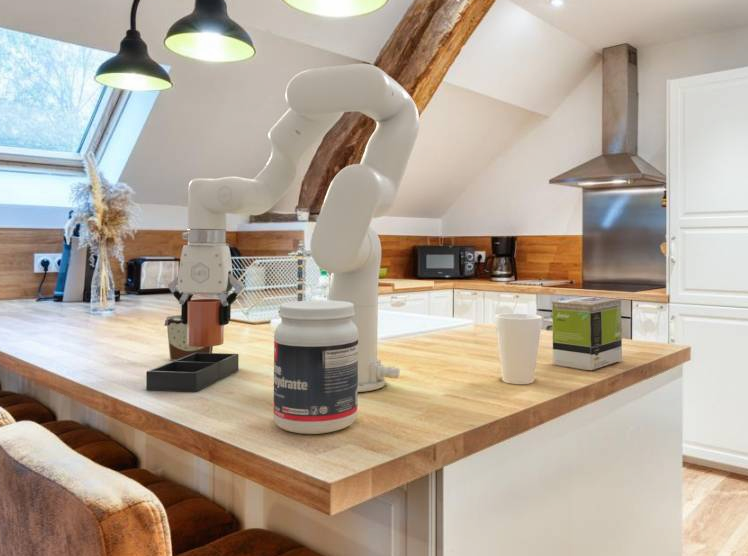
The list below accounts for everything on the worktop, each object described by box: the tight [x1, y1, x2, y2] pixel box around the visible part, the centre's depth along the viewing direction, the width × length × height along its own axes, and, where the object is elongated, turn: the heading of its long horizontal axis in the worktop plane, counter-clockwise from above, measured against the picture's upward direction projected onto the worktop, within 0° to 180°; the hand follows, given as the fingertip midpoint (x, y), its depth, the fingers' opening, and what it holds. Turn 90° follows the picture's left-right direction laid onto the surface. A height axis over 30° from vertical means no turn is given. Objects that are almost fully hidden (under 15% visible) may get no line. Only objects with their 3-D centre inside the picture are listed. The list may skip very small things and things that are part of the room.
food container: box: [164, 314, 214, 362], centre depth 144 cm, size 12×6×10 cm, turn 84°
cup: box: [187, 298, 225, 347], centre depth 127 cm, size 7×7×9 cm
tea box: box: [551, 296, 623, 371], centre depth 142 cm, size 15×10×15 cm, turn 136°
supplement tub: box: [272, 299, 359, 435], centre depth 94 cm, size 13×13×18 cm
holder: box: [145, 352, 239, 393], centre depth 123 cm, size 19×10×4 cm, turn 173°
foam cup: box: [494, 312, 543, 385], centre depth 124 cm, size 10×9×13 cm
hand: (205, 323), depth 128 cm, fingers closed on cup, 7 cm apart
